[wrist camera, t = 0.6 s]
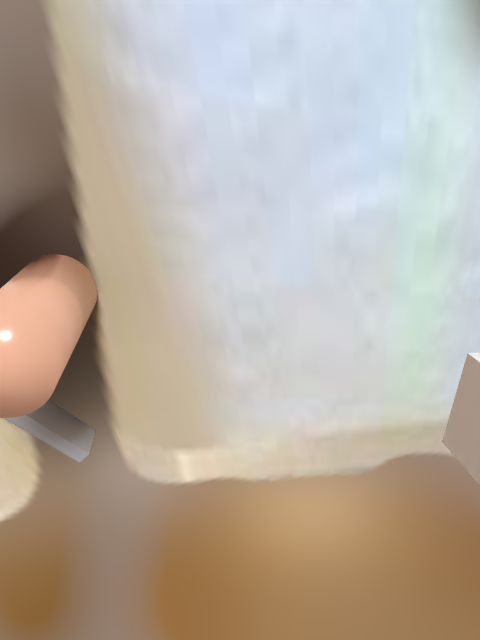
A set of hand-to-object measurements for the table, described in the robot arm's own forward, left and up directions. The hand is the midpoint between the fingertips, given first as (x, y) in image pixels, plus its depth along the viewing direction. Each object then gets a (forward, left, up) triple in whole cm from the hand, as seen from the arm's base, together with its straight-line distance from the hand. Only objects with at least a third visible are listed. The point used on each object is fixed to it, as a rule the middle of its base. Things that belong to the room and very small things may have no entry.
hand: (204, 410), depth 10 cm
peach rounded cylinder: (-3, -10, -23) cm, 25 cm away
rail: (0, -19, -23) cm, 30 cm away
